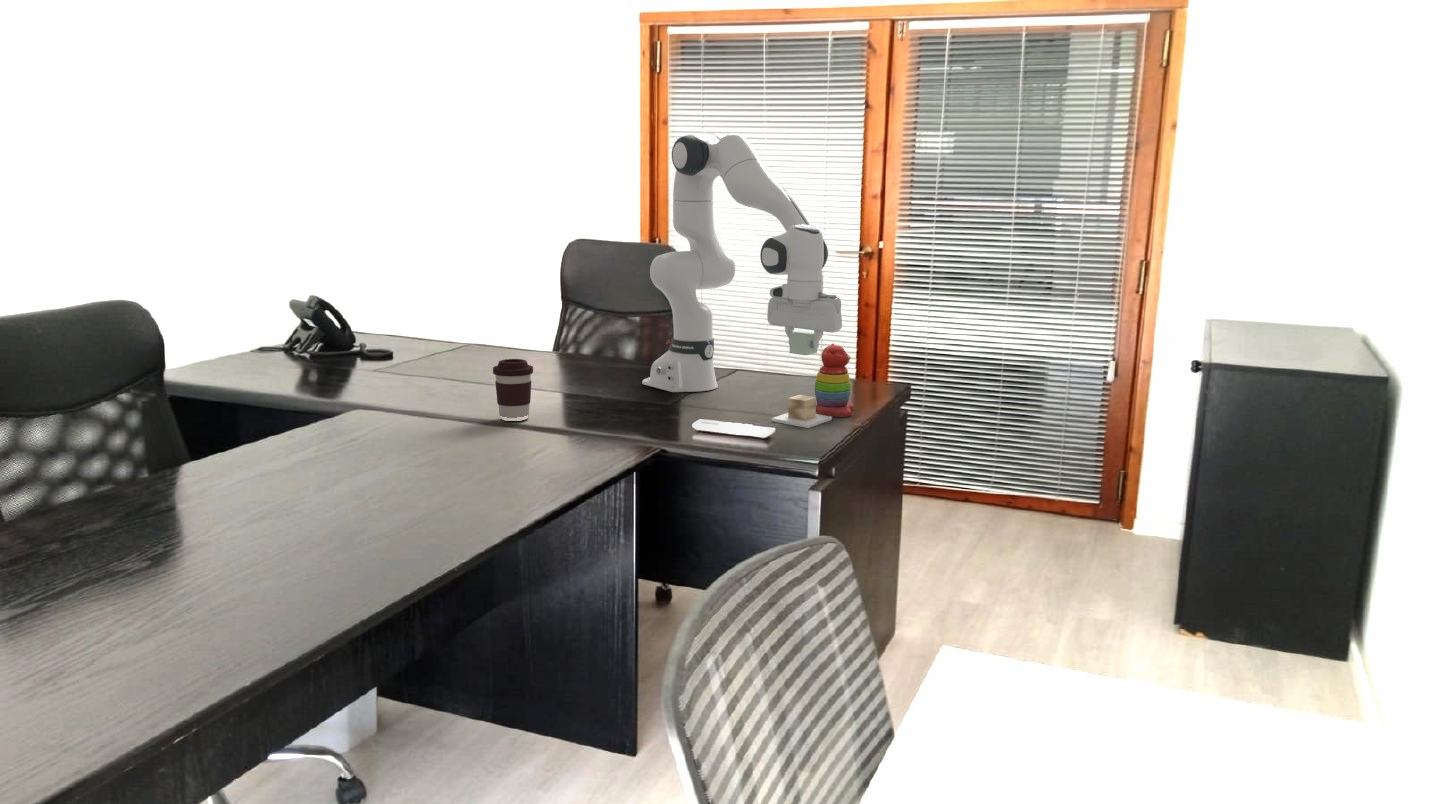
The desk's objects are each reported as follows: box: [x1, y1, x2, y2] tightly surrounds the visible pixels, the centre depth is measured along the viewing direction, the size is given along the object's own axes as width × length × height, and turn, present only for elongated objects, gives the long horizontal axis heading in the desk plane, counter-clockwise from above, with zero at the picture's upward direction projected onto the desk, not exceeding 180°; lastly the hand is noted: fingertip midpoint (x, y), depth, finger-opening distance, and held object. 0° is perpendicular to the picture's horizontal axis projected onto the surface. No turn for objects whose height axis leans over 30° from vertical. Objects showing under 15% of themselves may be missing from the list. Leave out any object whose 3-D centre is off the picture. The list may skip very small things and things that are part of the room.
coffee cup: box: [492, 358, 534, 418], centre depth 278 cm, size 10×10×15 cm
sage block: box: [789, 330, 818, 356], centre depth 275 cm, size 5×5×5 cm
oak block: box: [787, 394, 817, 420], centre depth 279 cm, size 5×5×5 cm
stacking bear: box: [814, 343, 855, 418], centre depth 287 cm, size 11×10×18 cm
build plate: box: [771, 412, 833, 429], centre depth 280 cm, size 11×11×1 cm
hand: (803, 346), depth 276 cm, fingers closed on sage block, 5 cm apart
